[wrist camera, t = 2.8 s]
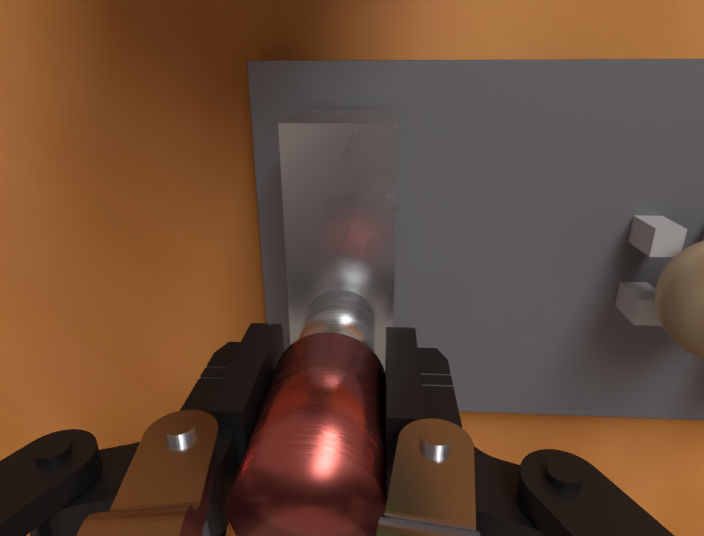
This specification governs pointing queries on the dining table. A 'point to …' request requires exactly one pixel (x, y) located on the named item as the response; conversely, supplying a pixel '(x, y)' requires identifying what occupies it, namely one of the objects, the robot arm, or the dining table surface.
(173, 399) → the dining table surface
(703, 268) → the tan ball
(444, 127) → the nutcracker bench
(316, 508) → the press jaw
